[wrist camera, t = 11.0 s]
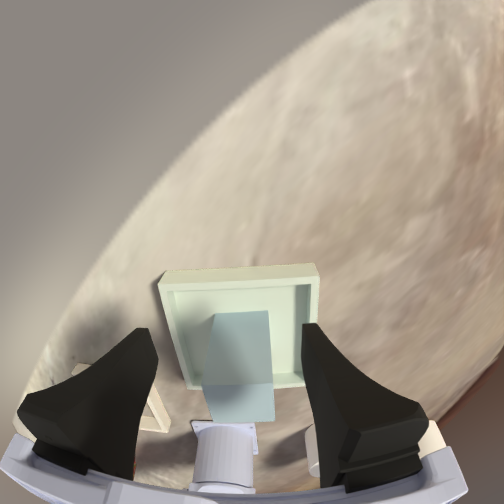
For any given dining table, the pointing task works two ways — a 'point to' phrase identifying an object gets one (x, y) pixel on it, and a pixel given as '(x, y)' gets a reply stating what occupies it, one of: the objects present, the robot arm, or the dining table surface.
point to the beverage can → (431, 440)
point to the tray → (241, 300)
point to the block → (239, 368)
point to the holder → (161, 417)
